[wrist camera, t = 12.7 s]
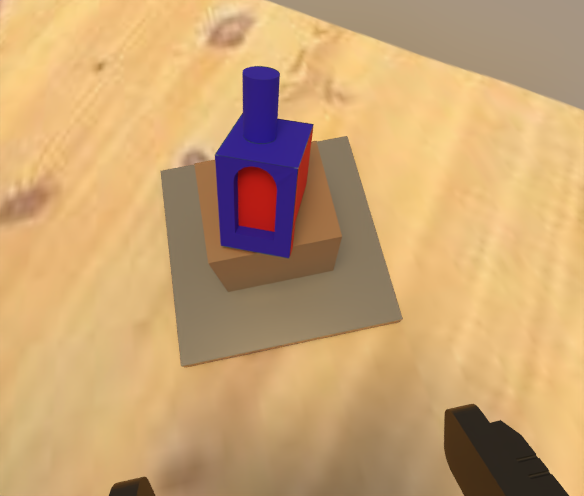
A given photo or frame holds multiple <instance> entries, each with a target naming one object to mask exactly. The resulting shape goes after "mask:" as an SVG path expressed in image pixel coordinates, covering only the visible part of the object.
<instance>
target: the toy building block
mask: <svg viewBox="0 0 584 496" xmlns="http://www.w3.org/2000/svg"><path fill="white" fill-rule="evenodd" d="M279 77H280V73H279V72H278V71H277V70H275V69H273V68H269V67H263V66H254V67H249V68H246V69H244V70H243V113H242V115H241V116H240V118H239V119H238V121H237V122H236V124H235V125H234V127H233V128H232V130H231V131H230V133H229V134H228V136H227V137H226V139H225V140H224V142H223V143H222V145H221V146H220V148H219V149H218V151H217V152H216V154H215V164H216V180H217V195H218V211H219V227H220V243H221V246H224V247H229V248H235V249H240V250H245V251H251V252H256V253H261V254H267V255H272V256H278V257H283V258H288V259H290V256H291V252H292V249H293V240H294V231H295V221H296V218H297V215H298V211H299V208H300V204H301V201H302V198H303V194H304V191H305V187H306V184H307V175H308V167H309V158H310V150H311V141H312V133H313V124H308V123H302V122H296V121H289V120H283V119H277V116H278V97H279Z"/></svg>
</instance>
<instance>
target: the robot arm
mask: <svg viewBox="0 0 584 496" xmlns="http://www.w3.org/2000/svg"><path fill="white" fill-rule="evenodd" d="M444 450H445V455H446V459H447V462H448V465H449V467H450V470H451V472H452V474H453V476H454V477H455V479H456V481H457V483H458V485H459V487H460V488H461V490H462V492H463V494H464V496H569V495H568V494H567V492H566V491H565V490H564V489H563V487H562V486H561V485H560V484H559V482H558V481H557V480H556V478H555V477H554V476H553V475H552V474H550V473H549V470H548V468H547V467H546V466H545V465H544V463H543V462H542V461H541V460H540V458H538V457H537V456H536V453H535V452H534V451H533V449H532V448H531V447H530V446H529V444H528V443H527V442H526V441H525V439H524V438H523V437H522V435H520V434H519V433H518V432H516V431H515V430H513V429H512V428H511V427H509V426H508V425H506V424H505V423H504V422H502V421H501V420H500V421H496V422H492V423H489V421H488V420H487V418H486V417H485V416H484V414H483V413H482V412H481V410H480V409H479V408H478V407H477V406H476V405H475V404H469V405H465V406H460V407H456V408H451V409H447V410H446V411H445V425H444ZM109 496H155V494H154V491H153V489H152V487H151V485H150V483H149V481H148V479H147V478H146V477H141V478H136V479H132V480H128V481H123V482H119V483H115V484H114V485H113V487H112V488H111V491H110V494H109Z"/></svg>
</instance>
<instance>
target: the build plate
mask: <svg viewBox="0 0 584 496" xmlns="http://www.w3.org/2000/svg"><path fill="white" fill-rule="evenodd" d="M161 179H162V188H163V198H164V208H165V217H166V227H167V236H168V246H169V255H170V265H171V274H172V284H173V293H174V303H175V313H176V322H177V332H178V341H179V351H180V360H181V366H182V367H190V366H195V365H199V364H204V363H209V362H213V361H218V360H223V359H228V358H232V357H237V356H242V355H246V354H251V353H256V352H260V351H265V350H270V349H275V348H279V347H284V346H289V345H293V344H298V343H303V342H307V341H312V340H317V339H322V338H326V337H331V336H336V335H340V334H345V333H350V332H355V331H359V330H364V329H369V328H373V327H378V326H383V325H387V324H392V323H397V322H400V321H401V320H402V315H401V312H400V309H399V305H398V302H397V299H396V295H395V292H394V289H393V286H392V282H391V279H390V276H389V272H388V269H387V266H386V262H385V259H384V256H383V253H382V249H381V246H380V243H379V239H378V236H377V233H376V229H375V226H374V223H373V220H372V216H371V213H370V210H369V206H368V203H367V200H366V196H365V193H364V190H363V186H362V183H361V180H360V177H359V173H358V170H357V167H356V163H355V160H354V157H353V153H352V150H351V147H350V144H349V140H348V137H347V136H345V137H340V138H334V139H329V140H324V141H318V142H317V141H313V142H311V150H310V158H309V167H308V175H307V184H306V187H305V191H304V194H303V198H302V201H301V204H300V208H299V211H298V215H297V218H296V221H295V231H294V240H293V249H292V252H291V256H290V259H288V258H283V257H278V256H272V255H267V254H261V253H256V252H251V251H245V250H240V249H235V248H229V247H224V246H221V243H220V227H219V211H218V195H217V180H216V164H215V160H211V161H206V162H200V163H195V164H194V165H190V166H184V167H179V168H174V169H168V170H163V171H161Z"/></svg>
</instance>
